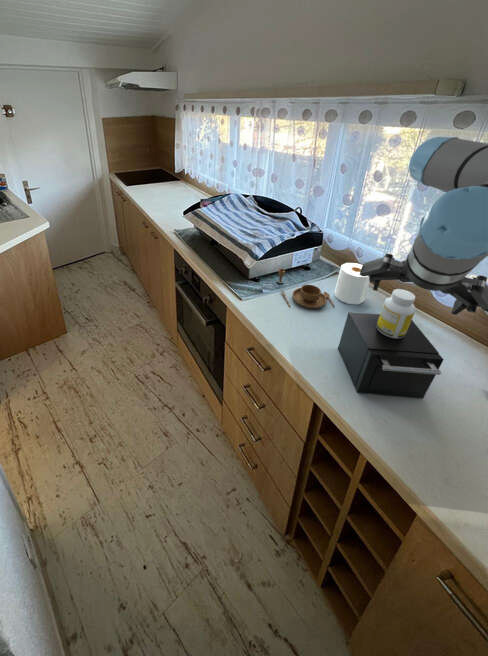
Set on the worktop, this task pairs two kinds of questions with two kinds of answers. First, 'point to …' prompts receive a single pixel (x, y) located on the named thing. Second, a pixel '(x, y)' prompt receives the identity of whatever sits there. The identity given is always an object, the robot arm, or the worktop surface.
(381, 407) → the worktop surface
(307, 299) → the place setting
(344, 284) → the toilet paper
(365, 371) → the oven door
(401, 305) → the pill bottle
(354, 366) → the oven
